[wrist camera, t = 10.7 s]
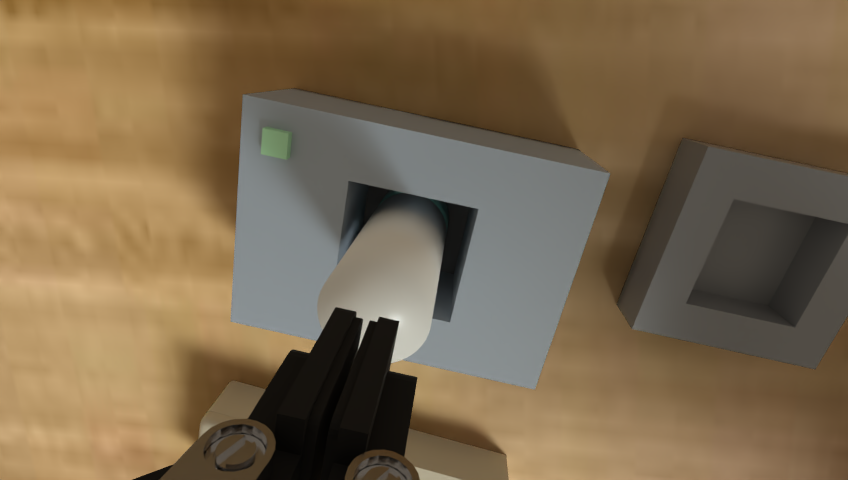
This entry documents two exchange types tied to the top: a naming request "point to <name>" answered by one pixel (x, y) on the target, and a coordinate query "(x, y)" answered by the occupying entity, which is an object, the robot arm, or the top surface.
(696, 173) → the grey square socket base
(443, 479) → the electrical outlet
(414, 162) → the port block
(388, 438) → the robot arm
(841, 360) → the top surface
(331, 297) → the plug
